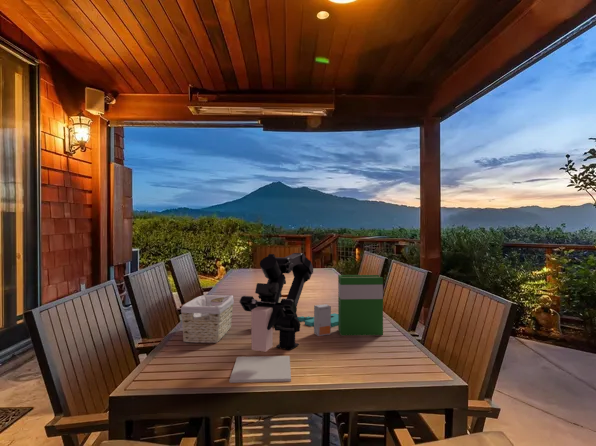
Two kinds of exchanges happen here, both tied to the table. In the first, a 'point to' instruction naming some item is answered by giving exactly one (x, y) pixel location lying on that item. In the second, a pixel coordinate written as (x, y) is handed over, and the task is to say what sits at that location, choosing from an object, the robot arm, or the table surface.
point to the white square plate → (261, 369)
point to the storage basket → (206, 318)
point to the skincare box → (322, 320)
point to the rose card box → (261, 329)
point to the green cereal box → (360, 305)
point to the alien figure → (310, 320)
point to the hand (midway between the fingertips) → (260, 328)
